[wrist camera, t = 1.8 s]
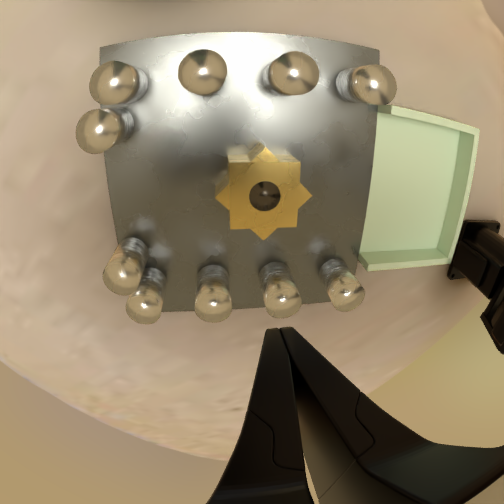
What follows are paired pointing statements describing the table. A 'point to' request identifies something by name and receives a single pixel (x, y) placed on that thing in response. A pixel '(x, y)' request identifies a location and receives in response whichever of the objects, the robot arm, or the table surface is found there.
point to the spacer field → (216, 167)
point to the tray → (417, 189)
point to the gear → (262, 191)
